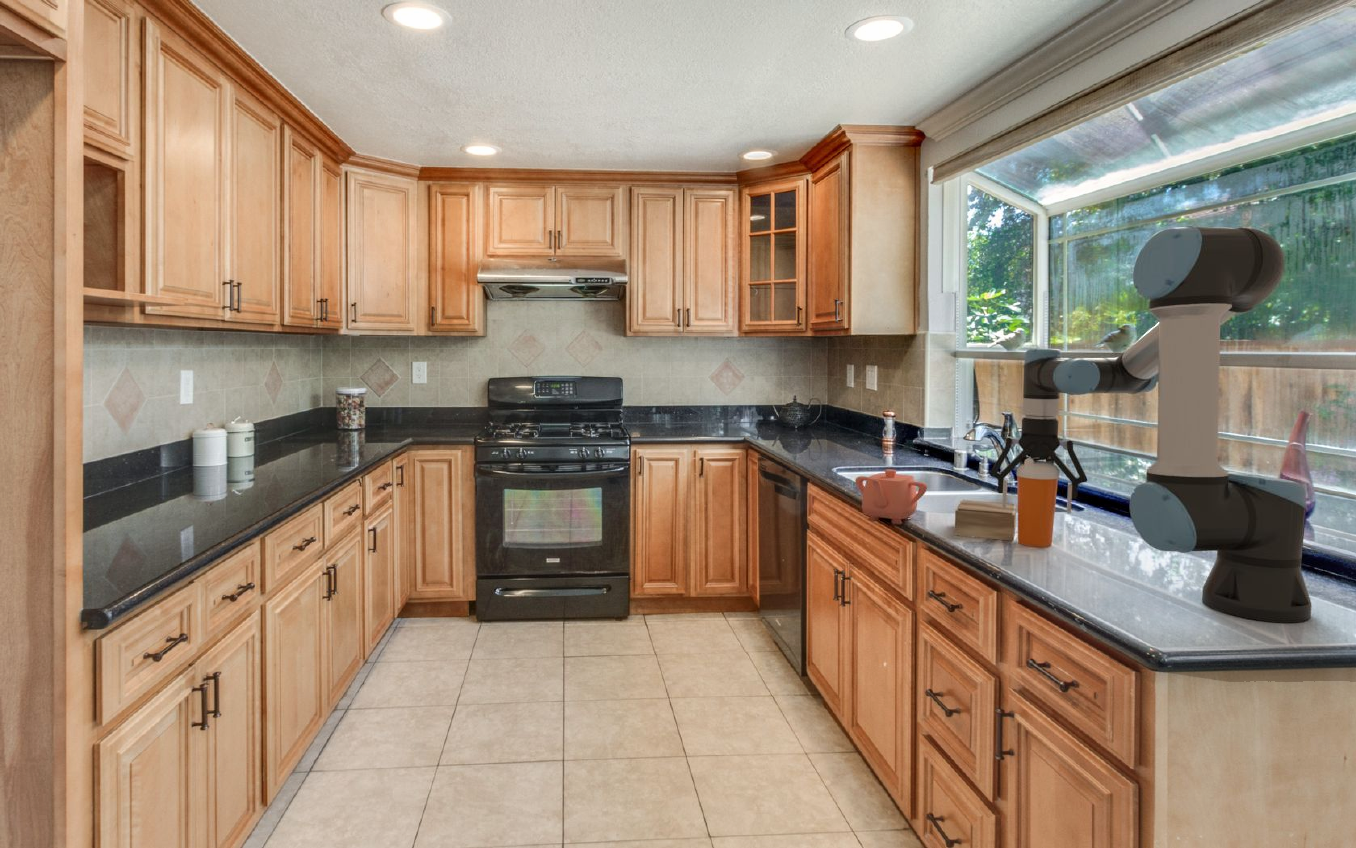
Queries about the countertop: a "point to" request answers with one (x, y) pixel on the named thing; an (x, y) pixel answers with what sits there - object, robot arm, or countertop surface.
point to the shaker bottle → (1036, 501)
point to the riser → (985, 520)
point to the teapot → (890, 495)
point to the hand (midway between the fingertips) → (1035, 510)
